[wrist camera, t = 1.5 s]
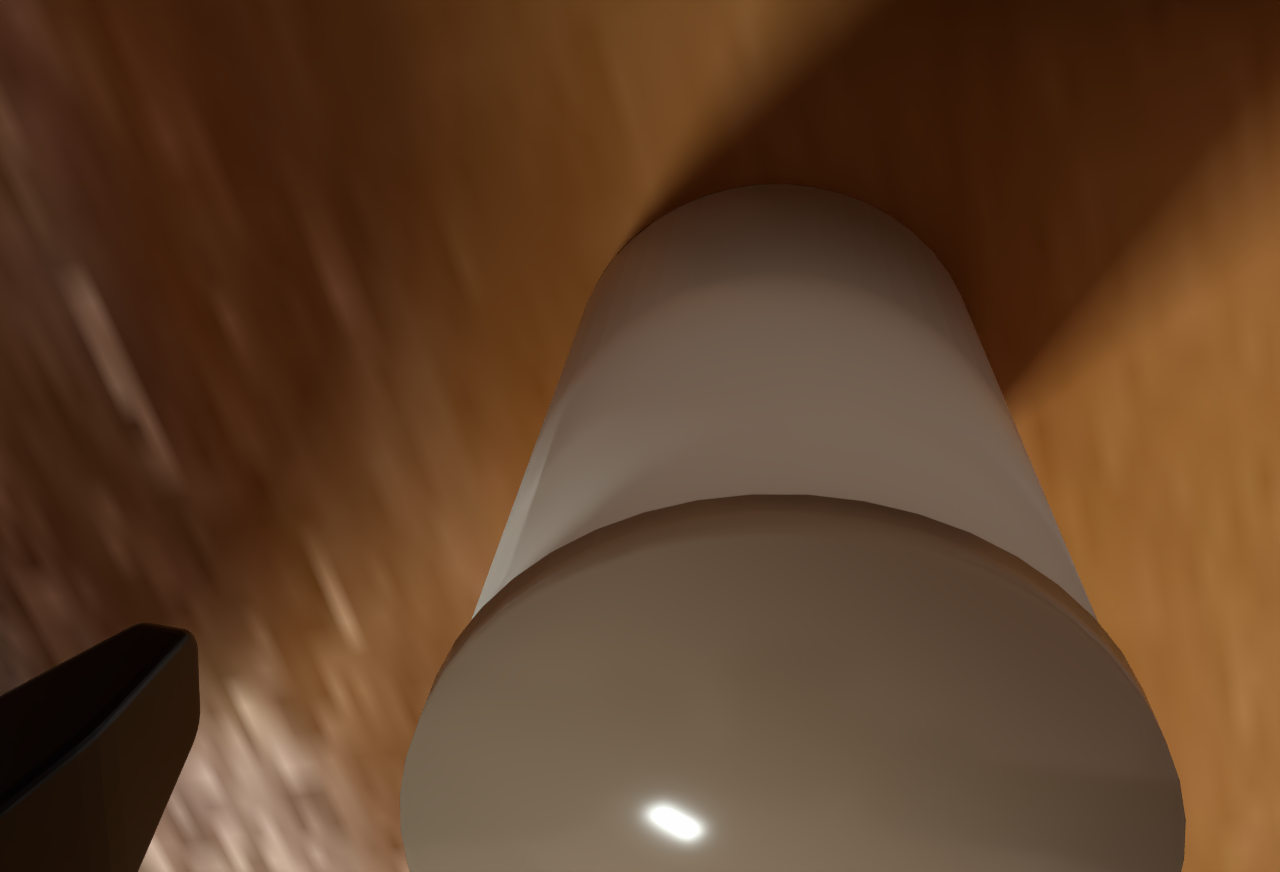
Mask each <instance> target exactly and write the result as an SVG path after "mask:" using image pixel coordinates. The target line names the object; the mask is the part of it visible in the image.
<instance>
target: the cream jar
mask: <svg viewBox="0 0 1280 872" xmlns="http://www.w3.org/2000/svg"><path fill="white" fill-rule="evenodd" d="M400 811H401V833H402V838H403V843H404V848H405V854H406V859H407V864H408V867H409V870H410V872H1181V870H1182V865H1183V861H1184V847H1185V823H1186V819H1185V813H1184V806H1183V800H1182V793H1181V786H1180V780H1179V778H1178V775H1177V772H1176V769H1175V766H1174V763H1173V760H1172V758H1171V755H1170V752H1169V749H1168V746H1167V743H1166V741H1165V738H1164V736H1163V734H1162V732H1161V729H1160V727H1159V725H1158V722H1157V720H1156V718H1155V716H1154V713H1153V711H1152V709H1151V706H1150V704H1149V702H1148V700H1147V697H1146V695H1145V693H1144V690H1143V688H1142V687H1141V685H1140V683H1139V681H1138V680H1137V678H1136V676H1135V674H1134V673H1133V671H1132V669H1131V667H1130V665H1129V664H1128V662H1127V660H1126V658H1125V657H1124V655H1123V653H1122V652H1121V650H1120V649H1119V648H1118V647H1117V645H1116V644H1115V643H1114V642H1113V640H1112V639H1111V638H1110V637H1109V635H1108V634H1107V633H1106V632H1105V630H1104V629H1103V628H1102V627H1101V625H1100V624H1099V623H1098V621H1097V619H1096V616H1095V614H1094V612H1093V609H1092V607H1091V604H1090V602H1089V600H1088V597H1087V595H1086V592H1085V590H1084V588H1083V585H1082V583H1081V581H1080V578H1079V576H1078V573H1077V571H1076V569H1075V566H1074V564H1073V561H1072V559H1071V557H1070V554H1069V552H1068V550H1067V547H1066V545H1065V542H1064V540H1063V538H1062V535H1061V533H1060V530H1059V528H1058V526H1057V523H1056V521H1055V518H1054V516H1053V514H1052V511H1051V509H1050V507H1049V504H1048V502H1047V499H1046V497H1045V495H1044V492H1043V490H1042V487H1041V485H1040V483H1039V480H1038V478H1037V476H1036V473H1035V471H1034V468H1033V466H1032V464H1031V461H1030V459H1029V456H1028V454H1027V452H1026V449H1025V447H1024V445H1023V442H1022V440H1021V437H1020V435H1019V433H1018V430H1017V428H1016V425H1015V423H1014V421H1013V418H1012V416H1011V413H1010V411H1009V409H1008V406H1007V404H1006V402H1005V399H1004V397H1003V394H1002V392H1001V390H1000V387H999V385H998V382H997V380H996V378H995V375H994V373H993V371H992V368H991V366H990V363H989V361H988V359H987V356H986V354H985V351H984V349H983V347H982V344H981V342H980V339H979V337H978V335H977V332H976V330H975V328H974V325H973V323H972V320H971V318H970V316H969V313H968V311H967V308H966V306H965V304H964V301H963V299H962V297H961V294H960V292H959V291H958V289H957V287H956V285H955V283H954V282H953V280H952V278H951V276H950V274H949V272H948V271H947V270H946V268H945V267H944V266H943V265H942V263H941V262H940V261H939V259H938V258H937V257H936V255H935V254H934V253H933V251H932V250H931V249H930V248H929V247H928V246H927V245H925V244H924V243H923V242H922V241H921V240H920V239H919V238H918V237H917V236H916V235H915V234H914V233H913V232H912V231H910V230H909V229H908V228H906V227H905V226H904V225H902V224H901V223H900V222H898V221H897V220H896V219H894V218H893V217H891V216H890V215H888V214H886V213H884V212H882V211H880V210H879V209H877V208H875V207H873V206H871V205H870V204H868V203H865V202H862V201H860V200H857V199H855V198H852V197H849V196H847V195H844V194H841V193H837V192H833V191H829V190H825V189H821V188H816V187H810V186H800V185H791V184H765V185H752V186H746V187H739V188H732V189H728V190H724V191H721V192H717V193H714V194H710V195H707V196H703V197H701V198H698V199H696V200H694V201H691V202H689V203H687V204H685V205H682V206H680V207H678V208H676V209H674V210H672V211H671V212H669V213H667V214H666V215H664V216H662V217H661V218H659V219H657V220H656V221H654V222H653V223H651V224H650V225H649V226H648V227H646V228H645V229H644V230H643V231H641V232H640V233H639V234H638V235H636V236H635V237H634V238H633V239H632V240H631V241H630V242H629V243H628V244H627V245H626V246H625V247H624V248H623V249H622V250H621V251H620V252H619V253H618V254H617V255H616V256H615V258H614V259H613V260H612V262H611V263H610V265H609V266H608V267H607V269H606V270H605V271H604V273H603V274H602V276H601V277H600V279H599V280H598V282H597V284H596V286H595V288H594V290H593V292H592V294H591V296H590V297H589V299H588V302H587V305H586V307H585V310H584V313H583V316H582V318H581V321H580V324H579V327H578V329H577V332H576V335H575V338H574V340H573V343H572V346H571V349H570V351H569V354H568V357H567V360H566V362H565V365H564V368H563V370H562V373H561V376H560V379H559V381H558V384H557V387H556V390H555V392H554V395H553V398H552V401H551V403H550V406H549V409H548V412H547V414H546V417H545V420H544V423H543V425H542V428H541V431H540V434H539V436H538V439H537V442H536V445H535V447H534V450H533V453H532V455H531V458H530V461H529V464H528V466H527V469H526V472H525V475H524V477H523V480H522V483H521V486H520V488H519V491H518V494H517V497H516V499H515V502H514V505H513V508H512V510H511V513H510V516H509V519H508V521H507V524H506V527H505V530H504V532H503V535H502V538H501V540H500V543H499V546H498V549H497V551H496V554H495V557H494V560H493V562H492V565H491V568H490V571H489V573H488V576H487V579H486V582H485V584H484V587H483V590H482V593H481V595H480V598H479V601H478V604H477V606H476V609H475V612H474V614H473V617H472V620H471V622H470V623H469V624H468V625H467V627H466V628H465V629H464V630H463V632H462V633H461V634H460V635H459V637H458V638H457V639H456V641H455V642H454V644H453V646H452V648H451V650H450V651H449V653H448V655H447V657H446V659H445V660H444V662H443V664H442V666H441V668H440V669H439V671H438V673H437V675H436V678H435V680H434V683H433V685H432V688H431V691H430V693H429V696H428V698H427V701H426V704H425V706H424V709H423V712H422V714H421V717H420V719H419V722H418V725H417V728H416V731H415V733H414V736H413V739H412V742H411V745H410V748H409V751H408V753H407V756H406V760H405V767H404V773H403V779H402V786H401V792H400Z"/></svg>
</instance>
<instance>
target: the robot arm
mask: <svg viewBox="0 0 1280 872" xmlns="http://www.w3.org/2000/svg"><path fill="white" fill-rule="evenodd" d="M199 719H200V694H199V670H198V648H197V643H196V640H195V637H194V635H193V634H192V633H190V632H189V631H188V630H185V629H180V628H174V627H168V626H163V625H157V624H151V623H140V624H137V625H134V626H132V627H129V628H127V629H126V630H124V631H122V632H120V633H118V634H116V635H114V636H112V637H110V638H109V639H107V640H105V641H103V642H101V643H99V644H97V645H95V646H93V647H92V648H90V649H88V650H86V651H84V652H82V653H80V654H78V655H76V656H75V657H73V658H71V659H69V660H67V661H65V662H63V663H61V664H59V665H58V666H56V667H54V668H52V669H50V670H48V671H46V672H44V673H42V674H40V675H39V676H37V677H35V678H33V679H31V680H29V681H27V682H25V683H23V684H22V685H20V686H18V687H16V688H14V689H12V690H10V691H8V692H6V693H5V694H3V695H1V696H0V872H138V871H139V868H140V866H141V864H142V861H143V859H144V857H145V854H146V852H147V850H148V847H149V845H150V843H151V840H152V838H153V836H154V833H155V831H156V829H157V826H158V824H159V822H160V819H161V817H162V815H163V812H164V810H165V808H166V805H167V803H168V801H169V799H170V796H171V794H172V792H173V789H174V787H175V785H176V782H177V780H178V778H179V775H180V773H181V771H182V768H183V766H184V764H185V761H186V759H187V757H188V754H189V752H190V750H191V747H192V745H193V742H194V740H195V737H196V733H197V730H198V725H199Z"/></svg>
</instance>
